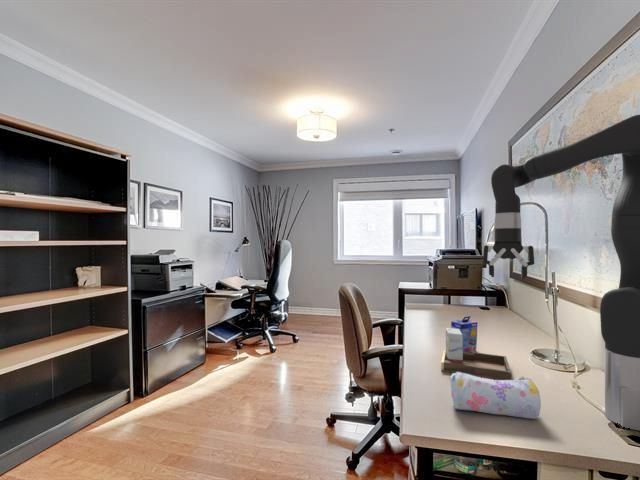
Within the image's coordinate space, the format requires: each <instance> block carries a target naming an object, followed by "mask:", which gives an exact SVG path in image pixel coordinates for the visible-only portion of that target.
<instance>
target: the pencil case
mask: <svg viewBox="0 0 640 480" xmlns="http://www.w3.org/2000/svg"><path fill="white" fill-rule="evenodd" d="M449 379H450V389H451V391H450V392H451V393H450V394H451V397H452V403H453V408H454V409H455V410H463V411H472V412H479V413H484V414H491V415H500V416H507V417H517V418H523V419H531V420H533V419H534V420H535V419H538V418H539V417H540V413H541V412H540V411H541V407H542V405H541V404H542V403H541V394H540V390H539V388H538V387H537V385H536V384H535V382H534V381H533V379H531V378H528V377H524V376H521V377H518V378H515V379H511V380H494V379H488V378H481V377H477V376H473V375H470V374H466V373H461V372H456V373H451V375H450V376H449Z"/></svg>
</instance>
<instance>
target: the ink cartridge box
mask: <svg viewBox="0 0 640 480" xmlns="http://www.w3.org/2000/svg"><path fill="white" fill-rule="evenodd" d="M450 323H451V324H450V328H454V329H459V330H460V332H461V333H462V335H463V351H466V352H473V353H474V352H477V348H478V347H477V346H478V345H477V343H478V321H476V320H472V319H471V315H469V316H464V317H463V318H462V319H459V320H458V319H456V320H453V321H451V322H450Z"/></svg>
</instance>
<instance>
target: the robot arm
mask: <svg viewBox="0 0 640 480" xmlns="http://www.w3.org/2000/svg"><path fill="white" fill-rule="evenodd" d="M619 154H621V158H622V177H621V181H620V182H621V183H620V185H619V189H618V190H617V194H616V196H615V199H614V202H613V206H612V212H611V223H610V224H611V226H610V227H611V228H610V233H611V234H610V235H611V239H612V244H613V247H614V249H615V253H616V254H617V258H618V260H619V264H620V276H619V277H620V278H619V284H618V288H615V289H611V290H608V291H607V292H606V293H605V294H604V295H602V298H601V300H600V307H599V311H600V312H599V315H600V332H601V337H602V339H603V342H604V415H605V417H606V418H607V419H609V421H611V422H613V423H615V424H617V423H618V424H617V425H619V424H620V425H621V426H622V427H621V426H620V425H619V426H620V427H621V428H623V427H625V428H624V429H628V428H630V429H629V430H634V431H640V114H636V115H633V116H630V117H627V118H625V119H623V120H621V121H618V122H617V123H614V124H613V125H610V126H608V127H606V128H604V129H602V130H600V131H598V132H596V133H594V134H592V135H589V136H587V137H584V138H582V139H580V140H577V141H575V142H572V143H568V144H567V145H564V146H562V147H561V146H560V147H558V148H555V149H553V150H550V151H549V150H548V151H547V152H542V153H539V154H537V155H533V156H531V157H529V158H527V159H526V160H525V162H524V163H521V164H519V165H510V164H506V163H505V164H504V163H503V164H500V165H498V166H496V167H495V168H494V169H493V171H492V173H491V179H490V181H491V184H490V185H491V188H492V192H493V195H494V196H493V198H494V200H495V213H494V214H495V215H494V216H495V217H494V224H493V228H494V244H493V245H487V244H485V245H484V246H483V255H482V263H484V264H485V265H488V274H489V276H490V277H491V278H494V277H495V265H494V264H495V263H496V262H497V261H498V260H499V259H501V260H506V259H510V260H514V259H516V260H517V261H518V262H519V264H521V266H520V278H521V280H522V279H525V278H526V277H528V267H529V266H533V265H534V264H535V254H534V246H533V245H526V246H525V245H522V215H521V198H520V196H519V195H518V194H517V193H516V188H520V187H522V186H525V185H527V184H530V183H532V182H534V181H537V180H540V179H545V178H547V177H552V176H554V175H557V174H561V173H563V172H567V171H569V170H571V169H573V168H575V167H578V166H580V165H582V164H584V163H587V162H591V161H592V160H596V159H599V158H603V157H608V156H615V155H619ZM492 250H493V251H494V253H495V255H494V256H493V257H492V259H491V260H489V259H488V257H489V253H490V252H491V251H492ZM523 251H524V252H525V253H527V259H528V261H525V259H524V258H523V257H522V255H521V253H522V252H523Z"/></svg>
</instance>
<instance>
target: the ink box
mask: <svg viewBox="0 0 640 480" xmlns="http://www.w3.org/2000/svg"><path fill="white" fill-rule="evenodd" d="M445 349H446V360H448V361H455V362H462V363H463V335H462V333H461V332H460V330H459V329H454V328H451V327H446V328H445Z"/></svg>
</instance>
